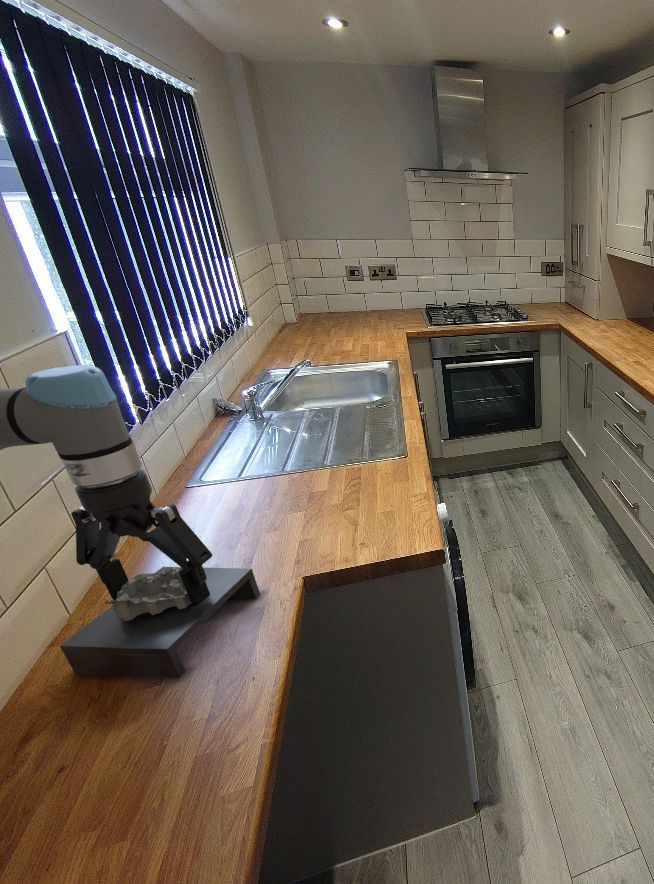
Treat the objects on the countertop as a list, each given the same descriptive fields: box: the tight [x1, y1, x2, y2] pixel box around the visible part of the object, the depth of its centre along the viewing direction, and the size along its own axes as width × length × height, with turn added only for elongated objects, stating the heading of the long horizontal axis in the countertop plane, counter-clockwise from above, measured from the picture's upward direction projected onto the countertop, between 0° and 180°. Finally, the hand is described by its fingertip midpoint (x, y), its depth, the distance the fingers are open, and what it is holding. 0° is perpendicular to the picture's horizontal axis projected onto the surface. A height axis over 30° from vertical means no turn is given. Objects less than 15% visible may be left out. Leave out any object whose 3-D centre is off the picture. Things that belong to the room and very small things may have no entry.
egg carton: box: [105, 568, 191, 621], centre depth 81 cm, size 11×8×4 cm
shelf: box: [59, 566, 261, 679], centre depth 83 cm, size 16×18×6 cm
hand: (163, 599), depth 82 cm, fingers closed on egg carton, 12 cm apart
